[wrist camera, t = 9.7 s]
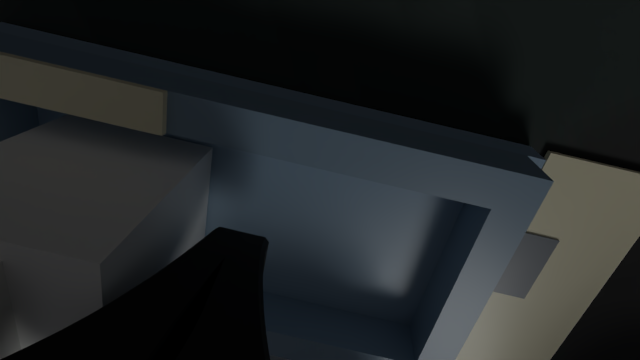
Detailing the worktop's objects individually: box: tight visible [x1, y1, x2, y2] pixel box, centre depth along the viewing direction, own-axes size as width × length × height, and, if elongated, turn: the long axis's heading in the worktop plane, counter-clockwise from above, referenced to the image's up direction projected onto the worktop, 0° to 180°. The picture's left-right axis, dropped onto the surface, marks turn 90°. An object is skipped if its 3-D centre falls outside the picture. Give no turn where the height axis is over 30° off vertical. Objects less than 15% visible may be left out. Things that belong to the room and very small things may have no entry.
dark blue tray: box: [0, 22, 640, 360], centre depth 12 cm, size 14×19×3 cm
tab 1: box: [0, 114, 213, 359], centre depth 9 cm, size 4×4×6 cm
